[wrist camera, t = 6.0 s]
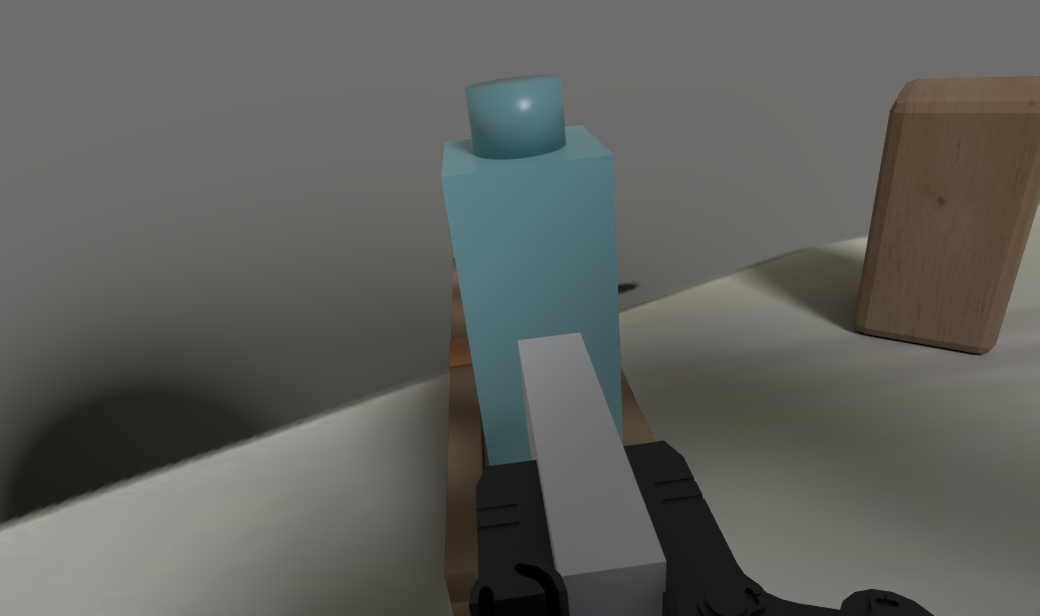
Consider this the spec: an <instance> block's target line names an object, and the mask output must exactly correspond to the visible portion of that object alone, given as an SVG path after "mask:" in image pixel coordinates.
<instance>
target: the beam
mask: <svg viewBox="0 0 1040 616" xmlns="http://www.w3.org/2000/svg"><path fill="white" fill-rule="evenodd" d="M449 360H450V361H449V368H450V402H449V437H448V472H447V507H446V542H445V579H446V584H447V588H448V592H449V596H450V600H451V604H452V609H453V613H454V616H471V615H470V610H469V605H468V604H469V599H470V594H471V589H472V586H473V585H474V583H475V582H476V580H477V579H478V577H479V575H478V543H477V510H476V485H477V483H478V481H479V479H480V477H481V475H482V473H483V471H484V469H485V467H486V466H490V465H489V459H488V453H487V447H486V441H485V435H484V429H483V423H482V417H481V411H480V406H479V400H478V394H477V388H476V382H475V376H474V370H473V364H472V358H471V352H470V346H469V340H468V334H467V328H466V322H465V316H464V310H463V304H462V298H461V292H460V286H459V280H458V274H457V268H456V262H455V257H454V261H453V297H452V331H451V340H450V359H449ZM620 367H621V366H620ZM621 398H622V428H623V446H628V445H636V444H643V443H651V442H654V439H653V437H652V435H651V433H650V431H649V428H648V426H647V424H646V422H645V419H644V417H643V415H642V413H641V411H640V408H639V406H638V404H637V402H636V400H635V397H634V395H633V393H632V391H631V389H630V386H629V384H628V382H627V380H626V378H625V375H624V373H623V371H622V369H621Z"/></svg>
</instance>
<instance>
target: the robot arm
mask: <svg viewBox="0 0 1040 616" xmlns="http://www.w3.org/2000/svg"><path fill="white" fill-rule="evenodd" d="M518 349H519V358H520V367H521V376H522V385H523V394H524V403H525V412H526V421H527V430H528V437H529V443H530V449H531V455H532V460H530V461H523V462H515V463H508V464H501V465H493V466H486V467H485V469H484V471H483V473H482V475H481V477H480V479H479V481H478V483H477V485H476V510H477V543H478V575H479V577H478V579H477V580H476V582H475V583H474V585H473V586H472V589H471V594H470V599H469V604H468V605H469V610H470V615H471V616H934V615H933V614H931V613H930V612H929V611H927V610H926V609H924V608H923V607H922V606H920V605H919V604H918V603H916V602H915V601H913V600H910V599H908V598H906V597H903V596H901V595H898V594H896V593H894V592H889V591H882V590H876V589H869V590H863V591H858V592H854V593H853V594H852V595H850V596H849V597H848V598H846V599H845V600H844V601H843V602H842V605H841V609H840V610H837V609H831V608H825V607H818V606H812V605H805V604H799V603H795V602H791V601H787V600H783V599H780V598H778V597H776V596H774V595H771V594H769V593H767V592H766V591H764V590H763V588H762V587H761V586H760V585H759V584H758V583H756V582H755V581H753V580H752V579H750V578H749V577H748V576H746V575H745V574H744V573H743V571H742V570H741V568H740V567H739V565H738V564H737V562H736V560H735V558H734V556H733V554H732V552H731V550H730V548H729V546H728V544H727V542H726V540H725V539H724V537H723V535H722V533H721V531H720V529H719V527H718V525H717V523H716V521H715V519H714V517H713V515H712V513H711V511H710V509H709V507H708V505H707V503H706V501H705V499H703V496H702V493H701V491H700V489H699V487H698V485H697V483H696V482H695V481H694V477H693V475H692V473H691V471H690V469H689V467H688V465H687V463H686V461H685V459H684V457H683V456H682V455H680V454H679V453H678V452H677V451H676V450H675V449H673V448H672V447H671V446H670V445H669V444H667V443H666V442H665V441H658V442H651V443H643V444H636V445H628V446H623V445H622V442H621V439H620V437H619V434H618V431H617V429H616V426H615V424H614V421H613V418H612V416H611V413H610V410H609V408H608V405H607V402H606V400H605V397H604V394H603V392H602V389H601V386H600V384H599V381H598V378H597V376H596V373H595V370H594V368H593V365H592V362H591V360H590V357H589V354H588V352H587V349H586V347H585V344H584V341H583V339H582V336H581V333H580V332H579V333H572V334H564V335H556V336H548V337H540V338H532V339H525V340H518Z"/></svg>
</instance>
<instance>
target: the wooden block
mask: <svg viewBox="0 0 1040 616" xmlns="http://www.w3.org/2000/svg"><path fill="white" fill-rule="evenodd" d="M1039 200H1040V76H1024V77H991V78H990V77H986V78H951V79H950V78H949V79H917V80H914V81H911V82H909V83H906V85H905V86H904V88H903V89H902V91H901V93H900V94H899V96H898V98H897V100H896V101H895V103H894V105H893V106H892V108H891V110H890V115H889V120H888V126H887V132H886V138H885V143H884V150H883V155H882V161H881V167H880V173H879V179H878V184H877V190H876V195H875V201H874V207H873V213H872V219H871V225H870V231H869V236H868V242H867V248H866V253H865V259H864V265H863V271H862V277H861V282H860V288H859V294H858V300H857V306H856V311H855V317H854V323H855V326H856V329H857V330H858V331H860V332H862V333H864V334H870V335H875V336H881V337H887V338H892V339H898V340H904V341H909V342H915V343H921V344H926V345H932V346H938V347H943V348H949V349H955V350H960V351H966V352H972V353H977V354H979V353H988V352H989V351H990V350H991V349H992V348H993V347H994V346H995V345H996V342H997V338H998V335H999V332H1000V328H1001V325H1002V322H1003V319H1004V315H1005V312H1006V309H1007V305H1008V302H1009V299H1010V296H1011V292H1012V289H1013V286H1014V282H1015V279H1016V276H1017V272H1018V269H1019V266H1020V263H1021V259H1022V256H1023V253H1024V249H1025V246H1026V243H1027V239H1028V236H1029V233H1030V230H1031V226H1032V223H1033V220H1034V216H1035V213H1036V210H1037V206H1038V203H1039Z"/></svg>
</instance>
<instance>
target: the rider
mask: <svg viewBox="0 0 1040 616" xmlns="http://www.w3.org/2000/svg"><path fill="white" fill-rule="evenodd" d="M465 92H466V99H467V107H468V113H469V121H470V128H471V134H472V139H469V140H462V141H453V142H446V143H445V148H444V157H443V165H442V174H441V179H442V185H443V191H444V197H445V202H446V209H447V215H448V221H449V227H450V233H451V239H452V245H453V250H454V256H455V262H456V268H457V274H458V280H459V286H460V292H461V298H462V304H463V310H464V316H465V322H466V328H467V334H468V340H469V346H470V352H471V358H472V364H473V370H474V376H475V382H476V388H477V394H478V400H479V406H480V411H481V417H482V423H483V429H484V435H485V441H486V447H487V453H488V459H489V465H490V466H493V465H501V464H508V463H515V462H523V461H530V460H532V455H531V449H530V443H529V437H528V430H527V421H526V412H525V403H524V394H523V385H522V376H521V367H520V358H519V349H518V340H525V339H532V338H540V337H548V336H556V335H564V334H572V333H579V332H580V333H581V336H582V339H583V341H584V344H585V347H586V349H587V352H588V354H589V357H590V360H591V362H592V365H593V368H594V370H595V373H596V376H597V378H598V381H599V384H600V386H601V389H602V392H603V394H604V397H605V400H606V402H607V405H608V408H609V410H610V413H611V416H612V418H613V421H614V424H615V426H616V429H617V431H618V434H619V437H620V439H621V442H622V445H623V428H622V398H621V367H620V337H619V306H618V279H617V278H618V277H617V246H616V215H615V187H614V186H615V184H614V156H613V154H612V153H611V152H610V151H609V150H608V149H607V148H606V147H605V146H604V145H603V144H601V143H600V142H599V141H598V140H597V139H596V138H595V137H594V136H593V135H592V134H591V133H590V132H588V131H587V130H586V129H585V128H584V127H583V126H582V125H580V126H574V127H573V126H572V127H565V120H564V106H563V91H562V78H561V77H560V76H554V75H553V76H552V75H539V76H524V77H514V78H506V79H498V80H493V81H487V82H482V83H478V84H473V85H470V86H468V87H466V88H465Z"/></svg>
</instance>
